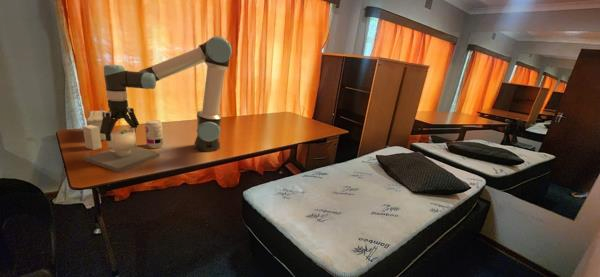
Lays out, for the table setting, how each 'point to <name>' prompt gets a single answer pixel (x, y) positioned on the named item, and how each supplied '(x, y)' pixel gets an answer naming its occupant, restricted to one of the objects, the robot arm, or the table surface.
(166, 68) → the robot arm
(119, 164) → the base
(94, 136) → the skincare box
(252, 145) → the table surface
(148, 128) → the supplement can
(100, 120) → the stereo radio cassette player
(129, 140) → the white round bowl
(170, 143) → the table surface
